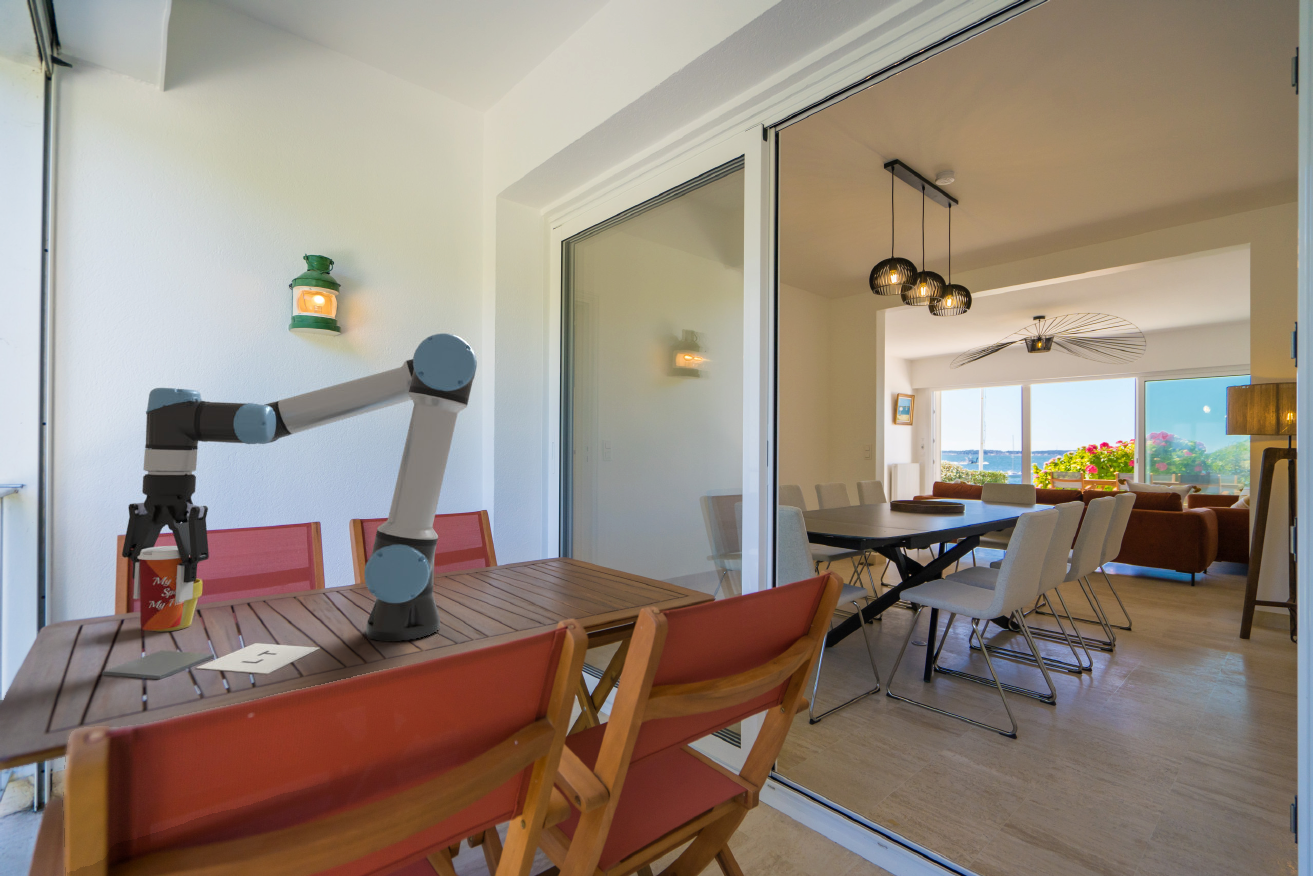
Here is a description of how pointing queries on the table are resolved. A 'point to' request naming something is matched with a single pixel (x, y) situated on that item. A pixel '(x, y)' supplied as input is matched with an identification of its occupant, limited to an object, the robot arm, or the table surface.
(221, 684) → the table surface
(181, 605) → the paper cup
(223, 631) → the table surface
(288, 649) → the tile
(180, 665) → the slate coaster
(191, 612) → the plant pot
